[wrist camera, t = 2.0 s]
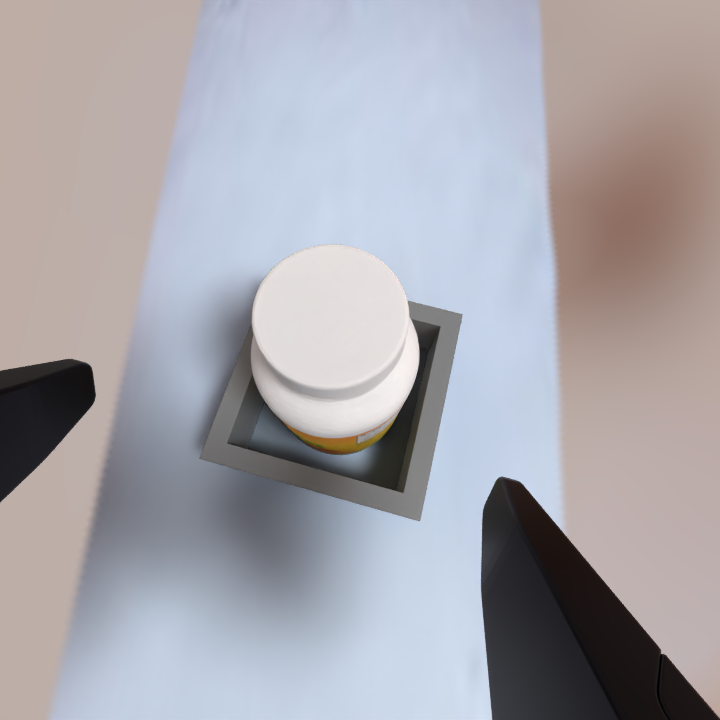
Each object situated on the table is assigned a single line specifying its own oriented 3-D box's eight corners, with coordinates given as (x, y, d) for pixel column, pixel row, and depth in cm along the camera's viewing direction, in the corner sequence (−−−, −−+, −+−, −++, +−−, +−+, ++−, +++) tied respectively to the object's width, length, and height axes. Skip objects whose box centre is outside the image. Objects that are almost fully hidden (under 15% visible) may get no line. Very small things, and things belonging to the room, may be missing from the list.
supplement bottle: (261, 393, 19) (176, 302, 10) (346, 325, 20) (340, 186, 11) (335, 481, 18) (316, 469, 9) (421, 403, 19) (483, 320, 10)
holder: (409, 516, 18) (420, 521, 15) (223, 463, 18) (199, 458, 15) (447, 339, 20) (462, 314, 17) (284, 298, 21) (273, 267, 18)
